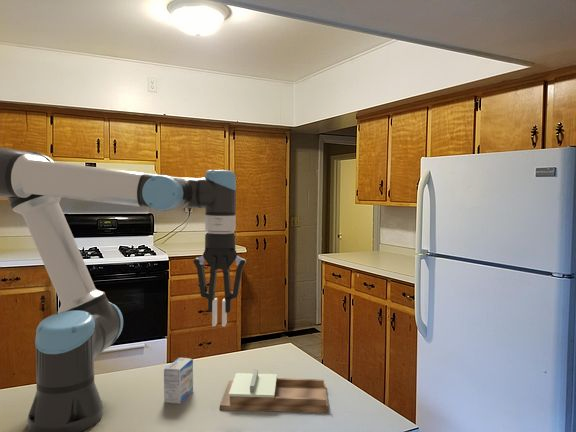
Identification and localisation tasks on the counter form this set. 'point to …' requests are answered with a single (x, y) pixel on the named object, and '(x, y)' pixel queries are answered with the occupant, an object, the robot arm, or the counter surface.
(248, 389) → the lid
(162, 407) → the counter surface
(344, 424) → the counter surface
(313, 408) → the brown compartment box
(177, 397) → the medicine box
